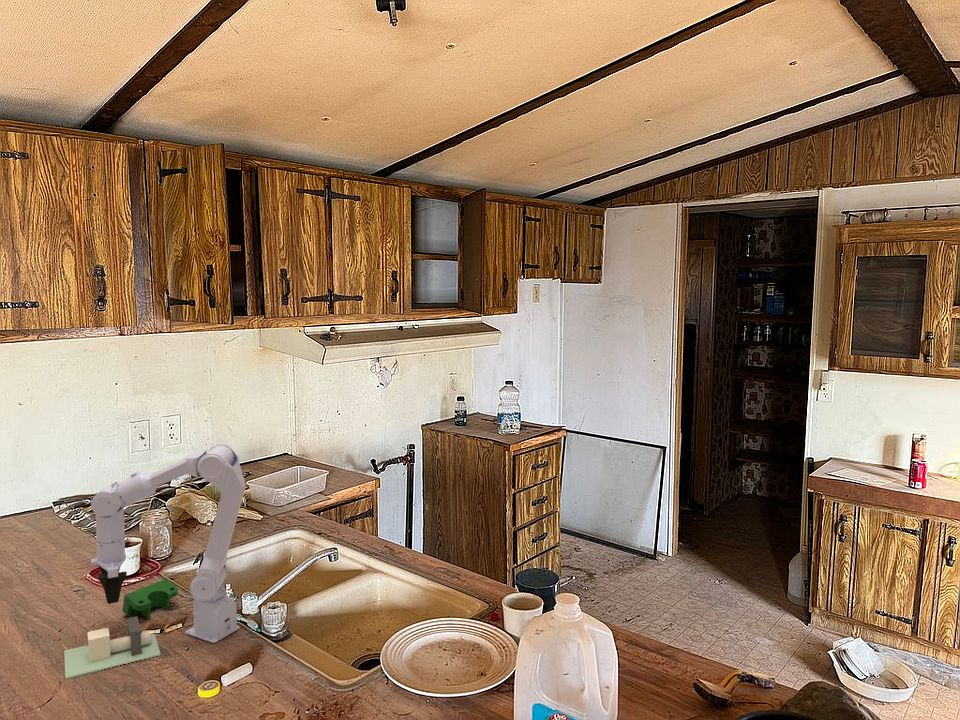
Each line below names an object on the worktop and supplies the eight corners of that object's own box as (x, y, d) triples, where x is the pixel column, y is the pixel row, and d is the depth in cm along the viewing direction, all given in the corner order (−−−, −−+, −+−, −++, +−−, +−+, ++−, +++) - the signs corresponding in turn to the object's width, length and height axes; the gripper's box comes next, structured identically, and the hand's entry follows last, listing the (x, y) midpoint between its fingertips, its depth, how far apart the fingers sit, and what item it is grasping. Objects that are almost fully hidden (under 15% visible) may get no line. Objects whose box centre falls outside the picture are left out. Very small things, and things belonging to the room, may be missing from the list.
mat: (153, 631, 161) (153, 630, 161) (160, 655, 151) (160, 654, 151) (64, 652, 151) (64, 650, 151) (65, 679, 141) (65, 677, 141)
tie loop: (138, 638, 157) (137, 616, 156) (141, 653, 151) (140, 630, 150) (128, 640, 156) (127, 618, 155) (131, 656, 150) (130, 632, 149)
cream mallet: (150, 638, 157) (149, 618, 156) (152, 647, 153) (152, 625, 153) (88, 653, 150) (87, 632, 150) (89, 662, 147) (88, 640, 146)
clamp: (142, 635, 167) (132, 612, 162) (128, 623, 170) (117, 600, 165) (184, 601, 175) (176, 578, 170) (170, 590, 178) (161, 567, 173)
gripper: (89, 531, 160) (90, 586, 162) (91, 553, 148) (93, 612, 150) (123, 526, 164) (124, 580, 166) (128, 547, 152) (129, 605, 153)
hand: (111, 595), depth 158 cm, fingers open, 7 cm apart
